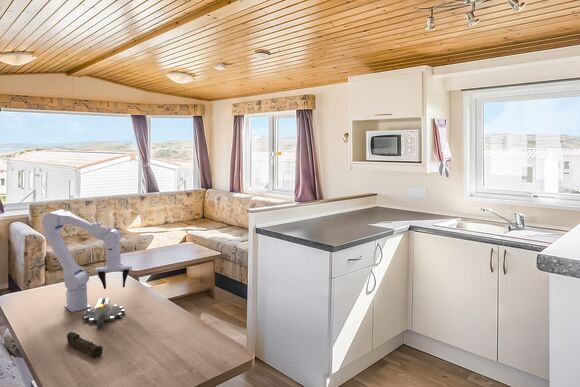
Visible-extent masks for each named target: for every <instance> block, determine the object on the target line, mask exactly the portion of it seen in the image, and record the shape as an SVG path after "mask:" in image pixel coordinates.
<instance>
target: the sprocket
mask: <svg viewBox="0 0 580 387" xmlns="http://www.w3.org/2000/svg"><path fill="white" fill-rule="evenodd" d="M107 298H109V296H107V297H104V299H107ZM95 308H96V306H94V307H93V308H91V309H89V308H87V310H86V309H85V312H83V313H82V320H83V322H88V323H89V324H94V323H97V321H98V320H96V311H95ZM125 313H126V308H124V306H123V305H121V306H119V305H118V304H113V305H111V304H110V310H109V313H108V317H107V319H103V322H104V323H105V322H114V321H115V319H117V318H118V319H121V318H122V317H123V315H124V314H125Z"/></svg>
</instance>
